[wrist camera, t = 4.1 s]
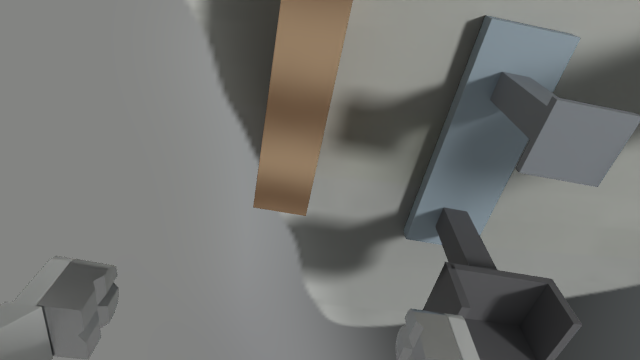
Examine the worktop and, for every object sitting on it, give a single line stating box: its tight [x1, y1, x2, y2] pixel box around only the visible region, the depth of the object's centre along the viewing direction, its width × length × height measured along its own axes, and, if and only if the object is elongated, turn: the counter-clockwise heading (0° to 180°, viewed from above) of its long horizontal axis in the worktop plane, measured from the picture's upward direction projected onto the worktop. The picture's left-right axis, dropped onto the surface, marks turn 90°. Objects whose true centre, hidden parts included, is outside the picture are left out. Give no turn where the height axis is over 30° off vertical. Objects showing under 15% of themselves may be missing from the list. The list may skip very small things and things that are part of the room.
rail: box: [253, 0, 353, 216], centre depth 26 cm, size 15×4×6 cm, turn 169°
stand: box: [404, 15, 640, 360], centre depth 26 cm, size 18×7×13 cm, turn 169°
